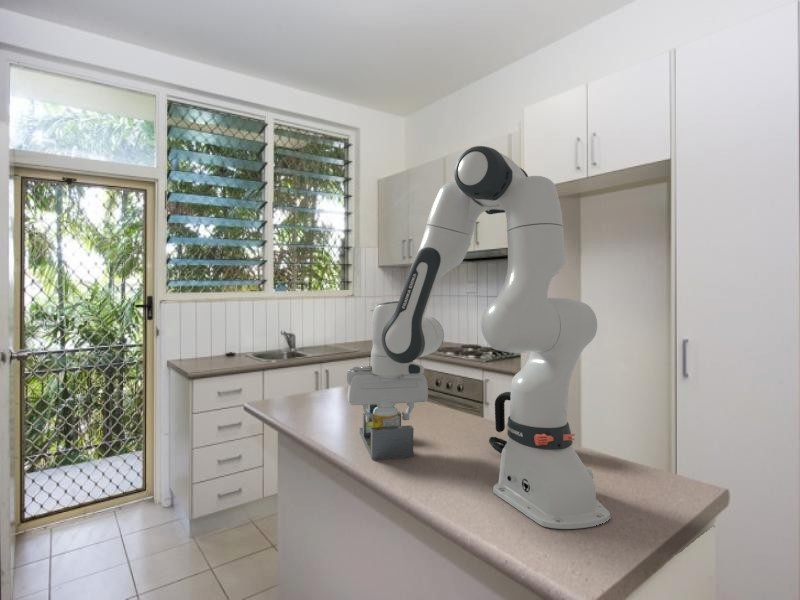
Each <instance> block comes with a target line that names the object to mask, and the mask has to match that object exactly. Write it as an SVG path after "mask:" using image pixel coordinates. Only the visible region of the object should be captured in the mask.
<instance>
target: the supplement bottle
mask: <svg viewBox="0 0 800 600" xmlns="http://www.w3.org/2000/svg"><path fill="white" fill-rule="evenodd" d="M377 406H378V407H376V408H375V409H374V411H373V428H375V427H392V426H398V412H399V410H398V408H397V407H395V406H396V403H393V400H383V401H382V403H381V404H377Z"/></svg>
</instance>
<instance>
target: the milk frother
mask: <svg viewBox="0 0 800 600" xmlns="http://www.w3.org/2000/svg"><path fill="white" fill-rule="evenodd" d="M510 395H511V391H505V392H502V393H500V394H499V395H497V397H496V399H495V401H494V421H495V422H494V423H495V430H496V432H498V433H502V432H503V431H504V430H505V429H506V424H505V423H506V421H505V416H506V415H505V414H506V413H505V410H506V409H505V402H506V401H510ZM507 441H508V440H507ZM507 441H506V440H505V439H502V438H500V437H498V436H491V437H489V439H488V443H489V444H490V446H491V447H492V448H493V449H494V450H495V451H497V452H498V453H499V454H501V453H502V450H503V448H504V447H505V445H506V443H507Z"/></svg>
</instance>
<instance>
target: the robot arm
mask: <svg viewBox="0 0 800 600" xmlns="http://www.w3.org/2000/svg"><path fill="white" fill-rule="evenodd" d="M484 212H485V214H487V215H495V214H503V213H505V216H506V217H505V218H506V234H507V236H506V237H507V238H506V239H507V271H506V277H505V279H504V282H503V285H502V287H501V290H500V292H499V293H498V295H497V296H496V298H494V300H492V301H491V303H489V305H487V307H486V308H485V310H484V312H483V314H482V317H481V325H480V326H481V332H482V336H483V339H484V340H485V342H486V343H487V345H488V346H489V347H490V348H491V349H493V350H496V351H499V352H505V353H511V354H529V353H530V354H529V357H528V358H527V361H526V363H525V365H524V366H523V368H521V369H520V370H519V371H518V372H517V373H515V375H514V376H513V377H512V379H511V383H510V392H511V395H510V400H509V402H510V403H509V416H508V418H507V423H506V429H507V434H506V435H507V436H508V438H507V443H506V445H505V447H504V448H503V450H502V453H500V454H501V455H500V463H499V465H500V466H499V475H498V482H497V483H495V484H494V485H493V488H492V493H493V494H494V495H496V496H497V497H499V498H500V499H502V500H503V501H505V502H506V503H508V504H509V505H510V506H512V507H513V508H515V509H516V510H518V511H519V512H521V513H522V514H523V515H525V516H527V518H529V519H531V520H532V521H534V522H535V523H537V524H538V525H539V526H542V527H545V528H549V529H550V528H551V529H555V530H557V529H558V530H559V529H560V530H573V529H585V528H592V527H596V525H597V526H600V525H599V524H601V525H603V524H605V522H606V521H607V522H609V521H610V520H611V517H612V516H611V512H610V511H609V510H608V509H607V508H606V507H605V506H604V505H603V504H602V503H601V502H600V501H599V500H598V499H597V495H596V494H597V493H596V485H595V481H594V473H593V471H592V470H591V469H590V468H587V467H586V466H585V464H584V463H583V462H582V460H581V458H580V457H579V455H578V453H577V452H576V450H575V449H574V447H573V442H574V441H575V439H576V438H573V437H574V436H575V435H576V434H575V433H572V430H571V428H570V424H569V422H568V405H569V404H568V403H569V402H568V401H569V389H570V382H571V378H572V375H573V372H574V368H575V366H576V364H577V361H578V359H579V357H580V355H581V353H582V352H583V351H584V349H585V348H586V347H587V346H588V345H589V344H591V342H593V340H594V338H595V337H596V335H597V331H598V319H597V315H596V313H595V311H594V310H593V308H592V307H591V306H590V305H589V304H587V303H585V302H583V301H579V300H577V299H572V298H568V297H548V292H549V286H550V284H551V281H552V279H553V278H554V277H556V275H558V274H559V273H561V272H562V271H563V268H565V264H566V251H565V237H564V222H563V221H564V219H563V212H562V207H561V202H560V198H559V194H558V190H557V187H556V185H555V183H554V182H553V181H552V180H551V179H550V178H548V177H546V176H542V175H530V176H529V175H528V174H527V172H526V171H525V170H524V169H523V168H521V167H520V166H519V165H517V163H515V161H513V159H512V158H510V157H509V156H507V155H505V154H502V153H501V152H499V151H498V150H496V149H495V148H493V147H489V146H484V145H477V146H472V147H471V148H468V149H467V150H465V151H464V152H463V153H462V154H461V155H460V156H459V158H458V160H457V161H456V164H455V167H454V181H452V182H447V183H444V184H443V185H442V186H441V187H440V188H439V190H438V192H437V194H436V196H435V199H434V200H433V203H432V206H431V208H430V211H429V213H428V217H427V221H426V226H425V227H424V231H423V235H422V239H421V242H420V245H419V248H418V250H417V253H416V255H415V256H414V258H413V259H414V260H413V261H412V264H411V266H410V269H409V271H408V275H407V277H406V279H405V283H404V286H403V288H402V291H401V293H400V294H401V295H400V297H399V300H398V301H397V300H396V301H388V302H387V301H386V302H382V303H379V304H377V305H376V306H375V307H374V309H373V312H372V318H371V328H370V329H371V331H370V334H371V335H370V336H371V341H372V348H371V352H370V365H369V366H368V365H367V366H353V368H351V369H349V370H348V371H347V373H346V382H347V384H348V388H347V402H348V403H349V404H350V405H351V406H361V409H362V410H363V412H364V413H365V414H366V422H373V420H372V418H373V415H372V414H368V405H372V404H381V403H382V401H383V400H393V403H395V404H406V406H407V408H406V410H405V411H402V413H401V420H403V421H410V414H411V412H412V411H413V409H414V407H415V403H425V402H426V401H427V400H428V398H429V387H428V380H427V378H426V376H425V375H424V373H425V367H424V365H423V364H421V363H419V362H417V361H415V360H417V359H418V358H423V357H427V355H430V354H434V353H435V352H436V351H438V350H439V349H440V348H441V346H442V345H443V342H444V337H445V336H444V334H445V332H444V329H443V326H442V324H441V323H440V321H438V320H437V319H436V318H434V317H432V316H428V315H426V311H427V309H428V305H429V303H430V299H431V297H432V293H433V292H434V291H433V290H434V288H435V286H436V285H437V283H438V281H439V280H440V279H441V278H442V277H443V276H444V275H446V274H447V273H448V272H450V271H451V270H453V269H455V268H456V267H457V268H458V266H459V265H461V264H462V263H463V262H464V261H463V260H464V259H465V257H466V255H467V253H468V250H469V248H470V245H471V243H472V238H473V235H474V231H475V227H476V223H477V221H478V218H479V217H480V216H481V215H482V214H483V213H484ZM609 519H610V520H609ZM608 520H609V521H608ZM607 522H606V523H607ZM602 523H603V524H602Z"/></svg>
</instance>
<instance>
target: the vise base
mask: <svg viewBox="0 0 800 600" xmlns="http://www.w3.org/2000/svg"><path fill="white" fill-rule="evenodd" d="M359 435H360V437H361V439H362V442H363V443H364V446H365V448H366V451H367V452H368V454H369V457H370V458H371V460H372V461H374V460H375V461H376V460H387V459H388V460H389V459H390V460H391V459H392V460H393V459H402V458H411V457H412V458H413V457H414V427H413V426H412V425H411V424H410V425H401V426H392V427H375V428H371V436H363V427H359Z"/></svg>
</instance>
